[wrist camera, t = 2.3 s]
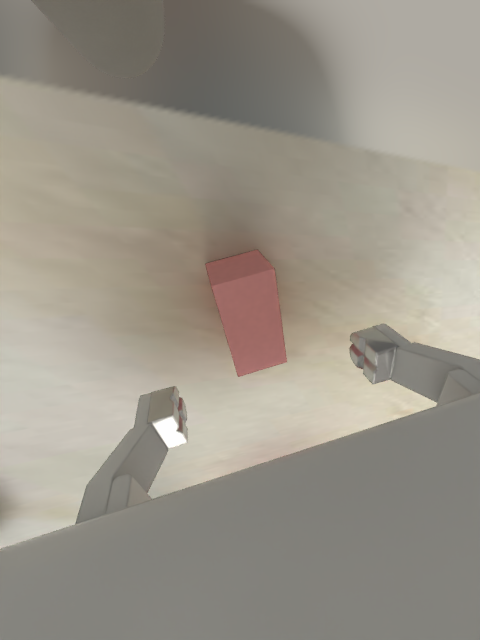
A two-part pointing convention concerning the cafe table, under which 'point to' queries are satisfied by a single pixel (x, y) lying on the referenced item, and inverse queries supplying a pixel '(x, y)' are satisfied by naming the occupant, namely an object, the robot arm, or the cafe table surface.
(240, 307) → the eraser
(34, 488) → the cafe table surface
